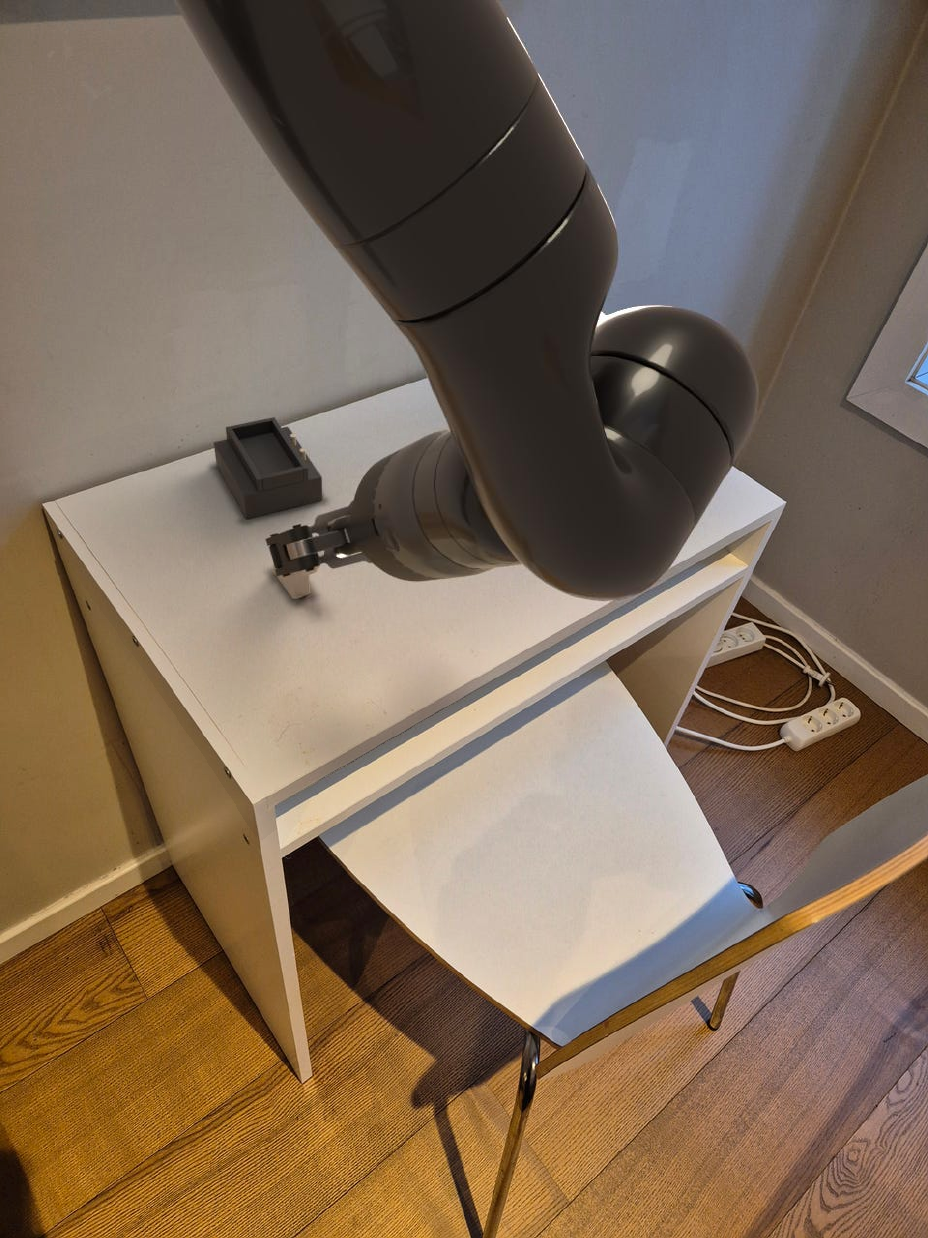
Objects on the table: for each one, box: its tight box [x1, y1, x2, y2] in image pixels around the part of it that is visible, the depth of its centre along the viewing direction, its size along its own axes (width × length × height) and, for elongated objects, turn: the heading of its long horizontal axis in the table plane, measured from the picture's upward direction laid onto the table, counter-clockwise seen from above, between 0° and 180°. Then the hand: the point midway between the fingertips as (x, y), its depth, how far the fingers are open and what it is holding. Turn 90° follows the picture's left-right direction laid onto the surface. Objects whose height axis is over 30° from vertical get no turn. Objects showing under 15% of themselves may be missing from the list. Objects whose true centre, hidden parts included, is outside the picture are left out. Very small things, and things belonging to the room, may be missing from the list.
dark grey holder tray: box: [213, 416, 323, 520], centre depth 87 cm, size 8×9×4 cm
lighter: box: [272, 551, 324, 600], centre depth 76 cm, size 7×2×8 cm, turn 35°
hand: (353, 535), depth 60 cm, fingers open, 8 cm apart
